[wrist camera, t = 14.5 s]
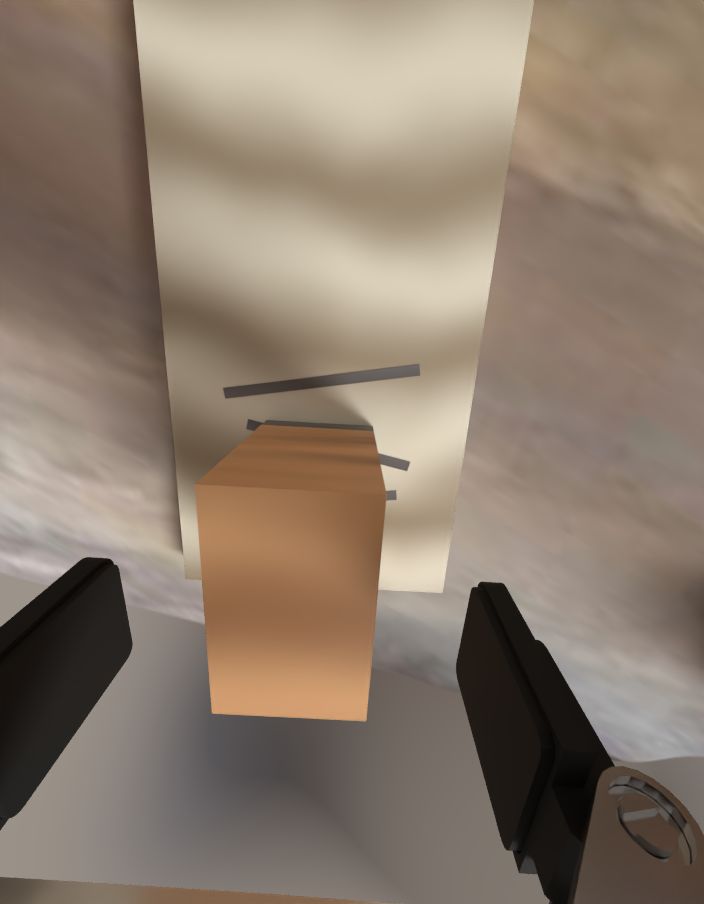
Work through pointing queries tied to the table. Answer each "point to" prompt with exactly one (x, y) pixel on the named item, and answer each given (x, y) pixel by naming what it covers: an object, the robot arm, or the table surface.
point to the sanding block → (292, 570)
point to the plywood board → (330, 232)
